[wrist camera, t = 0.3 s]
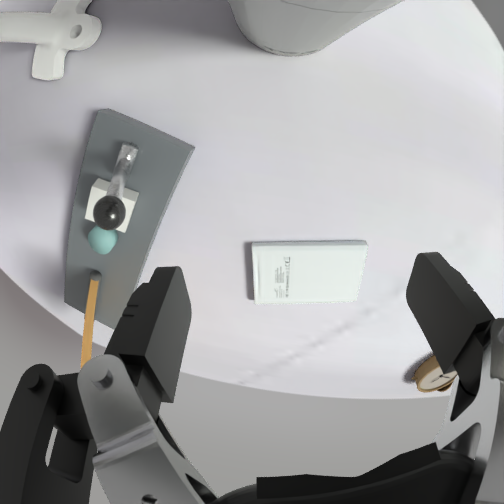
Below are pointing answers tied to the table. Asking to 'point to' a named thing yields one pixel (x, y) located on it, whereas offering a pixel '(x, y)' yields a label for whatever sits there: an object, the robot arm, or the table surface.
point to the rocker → (100, 191)
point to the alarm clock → (433, 377)
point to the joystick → (52, 34)
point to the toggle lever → (116, 191)
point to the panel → (142, 219)
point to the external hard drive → (307, 271)
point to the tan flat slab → (90, 314)
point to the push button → (102, 239)
